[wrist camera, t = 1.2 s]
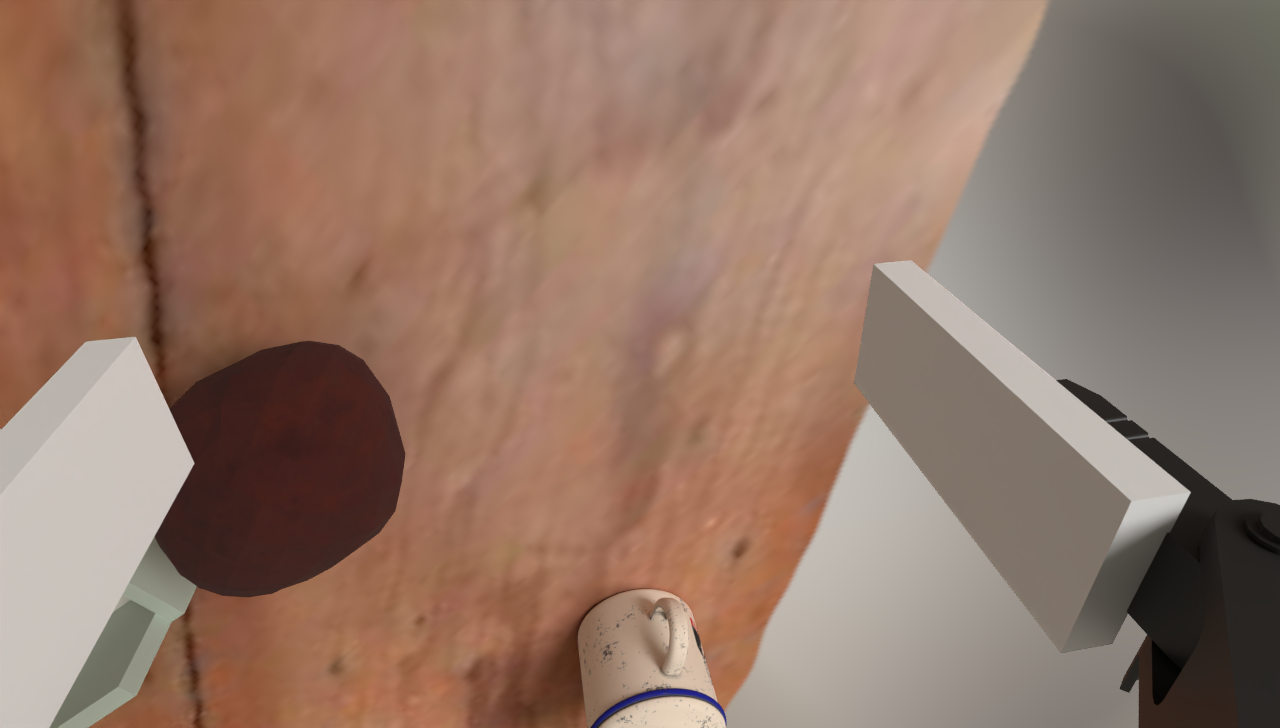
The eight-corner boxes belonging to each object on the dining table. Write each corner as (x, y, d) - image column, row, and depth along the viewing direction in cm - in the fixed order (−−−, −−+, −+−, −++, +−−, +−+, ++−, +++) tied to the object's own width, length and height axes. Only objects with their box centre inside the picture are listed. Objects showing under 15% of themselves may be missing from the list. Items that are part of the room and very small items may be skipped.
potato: (164, 462, 39) (66, 614, 30) (238, 262, 34) (148, 375, 25) (365, 520, 43) (331, 669, 35) (456, 350, 39) (443, 473, 30)
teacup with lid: (676, 669, 56) (714, 826, 46) (562, 666, 53) (576, 831, 44) (723, 558, 50) (778, 709, 40) (599, 548, 48) (624, 708, 38)
